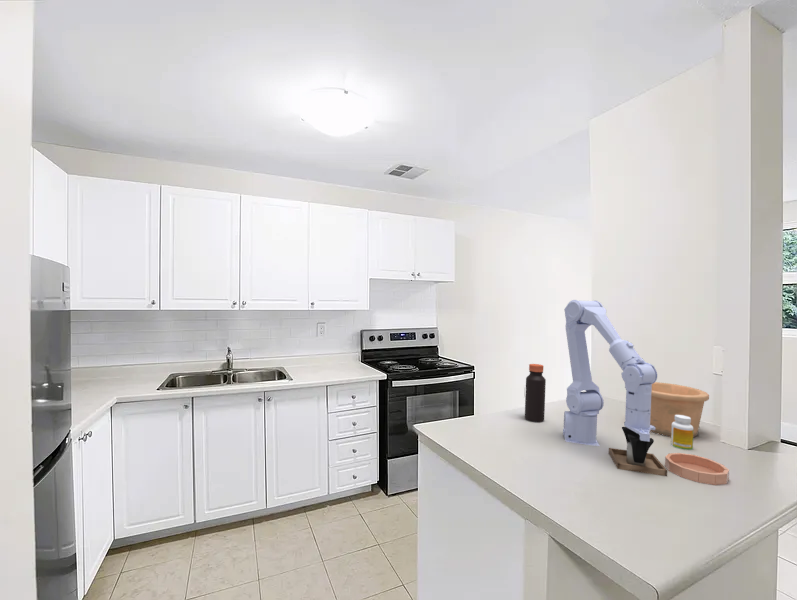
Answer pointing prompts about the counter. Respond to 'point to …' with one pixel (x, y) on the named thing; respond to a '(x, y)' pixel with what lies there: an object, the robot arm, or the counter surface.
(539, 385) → the vinegar
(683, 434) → the supplement bottle
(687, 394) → the pottery
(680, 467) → the bowl
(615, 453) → the tray
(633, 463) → the stone
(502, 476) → the counter surface
